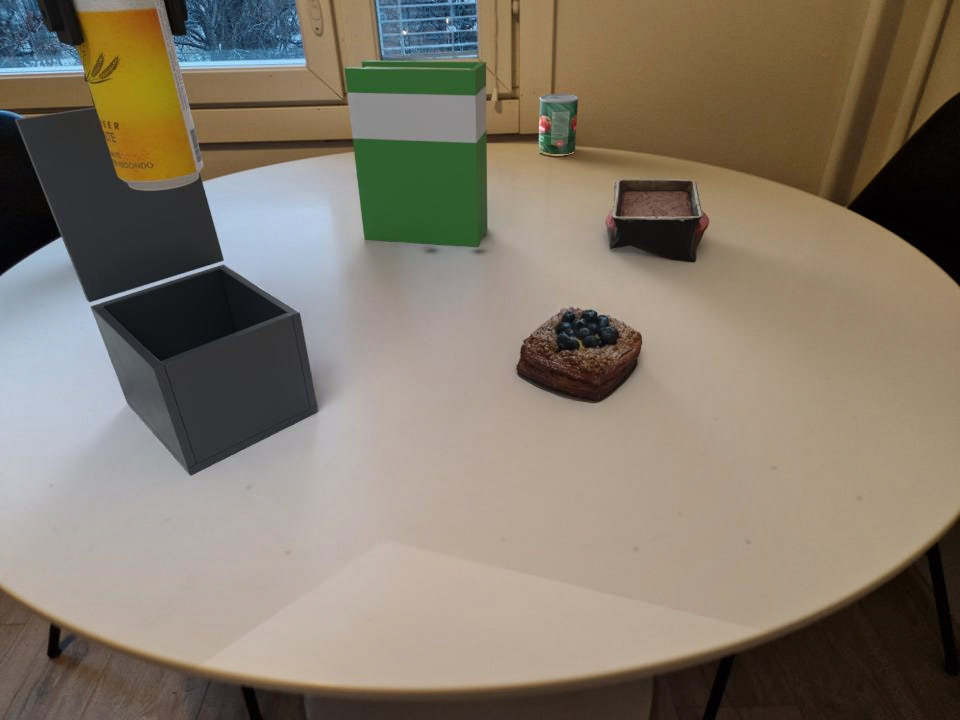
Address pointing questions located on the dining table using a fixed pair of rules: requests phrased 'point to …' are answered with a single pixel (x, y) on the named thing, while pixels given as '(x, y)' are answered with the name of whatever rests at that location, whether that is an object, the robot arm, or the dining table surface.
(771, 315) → the dining table surface
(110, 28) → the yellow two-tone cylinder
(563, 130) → the canned tomato
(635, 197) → the baking dish
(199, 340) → the black box
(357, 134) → the green cereal box
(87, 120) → the box lid
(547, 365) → the pastry
